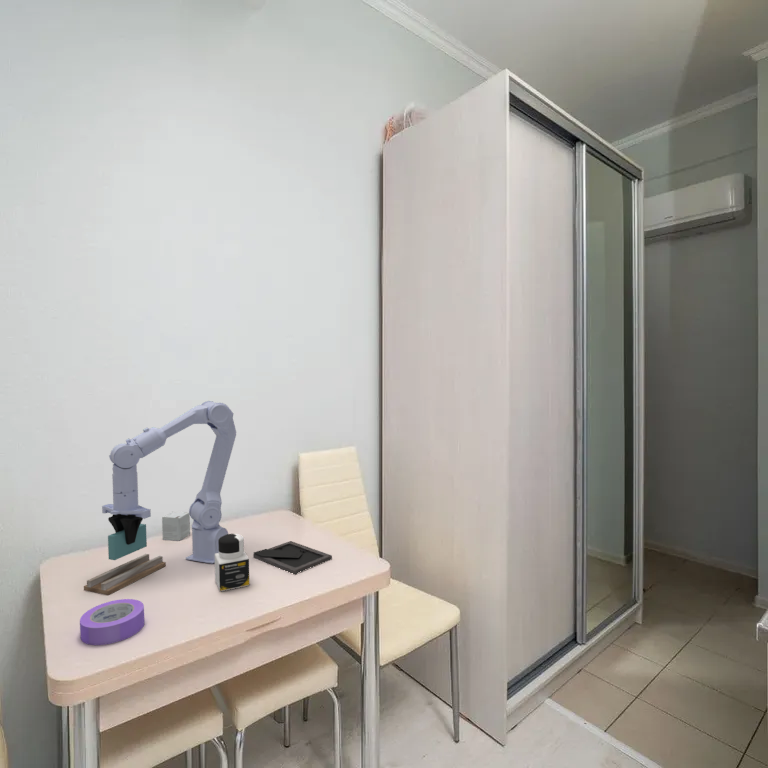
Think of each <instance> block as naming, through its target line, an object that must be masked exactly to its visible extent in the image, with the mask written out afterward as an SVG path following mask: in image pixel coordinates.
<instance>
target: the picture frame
mask: <svg viewBox="0 0 768 768" xmlns="http://www.w3.org/2000/svg"><path fill="white" fill-rule="evenodd" d="M252 556H253V557H252V558H253V559H256V560H258V561H260V562H263V563H266V564H267V565H270V566H273V567H274V566H275V568H277V569H279V568H280V570H282V571H284V570H285V571H284V572H286V571H288V572H287V573H289V572H290V573H289V574H291V573H293V574H292V575H294V574H295V575H297V574H296V573H298V572H300V571H302V572H304V571H303V570H305V569H307V568H310V567H312V568H314V567H316V566H315V565H317V564H319V565H321V564H323V563H322V562H324V563H326V562H328V561H327V560H329V561H331V560H333V555H332V554H328V553H326V552H323V551H320V550H318V549H315V548H311V547H309V546H306V545H304V544H300V543H297V542H295V541H291V540H290V541H287V542H283V543H281V544H278V545H275V546H273V547H270V548H264V549H261V550H257V551H254V552H253V555H252ZM330 559H331V560H330ZM325 561H326V562H325ZM320 563H321V564H320ZM313 566H314V567H313ZM317 566H318V565H317ZM310 569H311V568H310ZM307 570H308V569H307ZM305 571H306V570H305ZM300 573H301V572H300ZM298 574H299V573H298Z"/></svg>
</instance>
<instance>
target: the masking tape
mask: <svg viewBox="0 0 768 768" xmlns="http://www.w3.org/2000/svg"><path fill="white" fill-rule="evenodd" d="M145 623H146V621H145V605H144V603H143V601H141V600H138V599H133V598H124V599H123V598H122V599H114V600H110V601H107V602H104V603H101V604H98V605H95V606H93V607H91V608H90V609H88V610H87V611H85V612H84V613H83V614H82V615H81V617H80V619H79V632H80V633H79V634H80V640H81V642H82V643H83V644H87V645H91V646H104V645H105V646H106V645H110V644H115V643H118V642H121V641H124V640H127V639H128V638H131V637H133V636H134V635H137V633H139V632H140V631H141V630H142V629H143V628H144V626H145Z"/></svg>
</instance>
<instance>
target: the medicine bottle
mask: <svg viewBox="0 0 768 768" xmlns="http://www.w3.org/2000/svg"><path fill="white" fill-rule="evenodd" d="M218 545H219V553H216V554H215V563H214V580H215V584H216V585H217V589H218V590H219V592H220V591H222V592H226V591H230V589H231V590H235V588H236V589H240V587H241V588H244V587H249V586H250V558H249V556H248V554H247V553H246V552H245V537H244V536H243V535H242V534H239V533H228V534H227V535H224V536H222V537H220V539H219V540H218ZM225 590H226V591H225Z"/></svg>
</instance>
